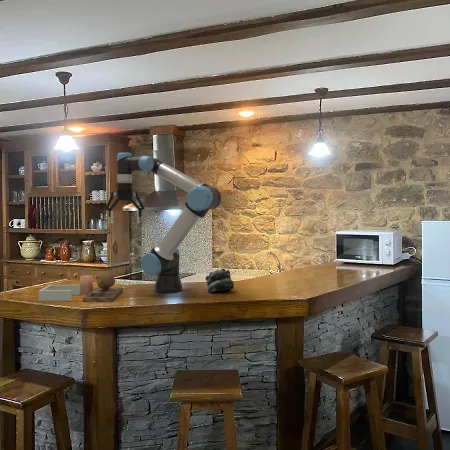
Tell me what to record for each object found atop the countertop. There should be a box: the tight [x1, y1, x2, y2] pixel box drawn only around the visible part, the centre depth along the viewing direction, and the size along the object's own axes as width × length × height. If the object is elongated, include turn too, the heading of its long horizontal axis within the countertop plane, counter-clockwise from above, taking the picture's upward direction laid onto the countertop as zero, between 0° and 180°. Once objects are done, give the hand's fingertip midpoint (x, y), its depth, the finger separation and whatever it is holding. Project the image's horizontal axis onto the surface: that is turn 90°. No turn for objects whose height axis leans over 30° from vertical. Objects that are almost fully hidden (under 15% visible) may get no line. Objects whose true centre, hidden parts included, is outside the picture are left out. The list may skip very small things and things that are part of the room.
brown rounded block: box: [79, 274, 94, 295], centre depth 250 cm, size 6×6×9 cm
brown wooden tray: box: [82, 287, 124, 303], centre depth 241 cm, size 14×26×2 cm, turn 1°
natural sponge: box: [96, 270, 116, 290], centre depth 247 cm, size 9×9×10 cm
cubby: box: [38, 284, 82, 302], centre depth 238 cm, size 16×16×5 cm
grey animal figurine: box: [204, 268, 235, 294], centre depth 255 cm, size 15×12×14 cm
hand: (125, 223), depth 250 cm, fingers open, 13 cm apart
